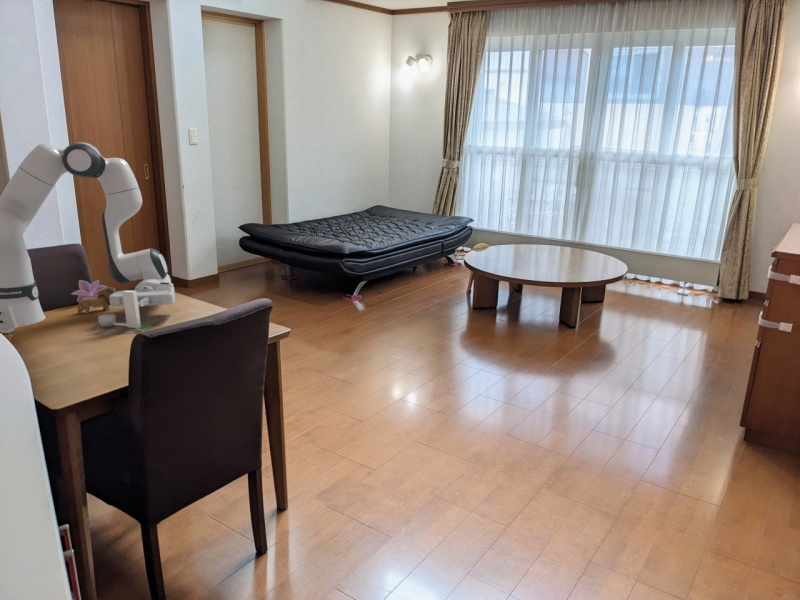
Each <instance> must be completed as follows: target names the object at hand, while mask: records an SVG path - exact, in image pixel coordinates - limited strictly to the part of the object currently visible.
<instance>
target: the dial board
mask: <svg viewBox="0 0 800 600" xmlns="http://www.w3.org/2000/svg"><path fill="white" fill-rule="evenodd" d="M171 317H172V314H151V315H150V314H149V315H147V314H146V315H140V322H141V327H140V328H129V327H127V326H117V325H114V326H111V327H100V326H99V325H97V326H96V327H95V328H94V329H93V330H92V331H91V332H89V333H88V334H87V335H86V336H110V335H111V336H113V335H137V334H138V333H140V332H143V331H147V330H151V329H156V328H159V327H161V328H163V326H164V324H165V323H166V322H168V320H169V319H170V318H171ZM115 318H116V323H127V322H126V315H122V316H121V315H120V316H119V315H118V316H116V315H115Z"/></svg>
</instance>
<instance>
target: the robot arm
mask: <svg viewBox="0 0 800 600" xmlns="http://www.w3.org/2000/svg"><path fill="white" fill-rule="evenodd" d="M65 173H69V174H71V175H73V176H74V177H79V178H87V179H88V178H89V179H93V178H94V179H97V180H98V181H99V183H100V185H101V188H102V190H103V193H104V195H105V196H104V197H105V199H106V201H105V202H106V207H105V210H103V211H102V214H101V225H102V229H103V230H102V232H103V237H104V243H105V248H106V254H107V264H108V265H107V267H108V272H109V275H110V278H111V279H112V280H113V281H115V282H117V283H119V284H122V285H125V284H129V283H132V282H135V281H137V280H141V281H140V282H139V283H137V285H136V286H135V288H134V289H126V290H127V291H136V292H137V299H138V307H139V308H141V307H153V306H157V305H158V306H159V305H173V304H175V302H176V293H175V292H176V291H175V287H174V286H175V285H174V283H172V279H171V277H170V275H169V274H168V273H169V267H168V262H167V261H166V258H165V256H164V255H163V254H162V252H160V251H159V250H157V249H155V248H153V247H152V248H146V249H142V250H139V251H134V252H130V253H129V252H128V253H123V251H122V244H121V238H120V233H119V232H120V231H119V230H120V228H121V226H122V225H123V224H124V222H126V221H127V220H129V219H131V218H132V217H133V216H135V215H136V214H137V213H138V212H139V211H140V210H141V208H142V206H143V197H142V192H141V190H140V187H139V184H138V181H137V179H136V176H135V175H134V172H133V170H132V168H131V166H130V164H129V163H128V162H127V161H126V160H125V159H124V158H120V157H107V158H106V157H104V156H103V155H102V153H101V151H100V150H99V148H97V147H96V146H94V145H93V144H91V143H88V142H85V141H79V142H74V143H71V144H69V145H67V147H65V148H63V149H61V148H58V147H56V146H55V145H52V144H49V143H40V144H38V145H36V146H35V147H34V148H33V149H32V150H31V151H30V152H29V153H28V154H27V155H26V157H25V158H24V159H23V160H22V162H21V164H19V166H18V168H17V169H16V170H15V172H14V174H13V175H12V177H11V178H10V179H9V181H8V183H7V184H6V186H5V187H4V189H3V191H2V192H1V195H0V332H1V333H0V334H13V333H15V331H16V329H17V328H19V327H21V328H22V327H25V326H29V325H33V324H36V323H39V322H42V321H44V320H45V319H46V315H45V314H44V311H43V308H42V306H41V303H40V300H39V291H38V285H37V282H36V280H35V278H34V272H33V268H32V267H33V266H32V261H31V258H30V256H29V253H28V249H27V247H26V243H25V238H24V233H25V232H26V231H27V229H28V227H29V226H30V224H31V222H33V220H34V218H35V216H36V215H37V213H38V211H39V210H40V208H41V207H42V205H43V204H44V202H45V201H46V199H47V198H48V196H49V194H51V192H52V190H53V189H54V187H55V185H56V184H57V183H58V181H59V180H60V178H61V177H62V176H63V175H64V174H65ZM123 291H125V290H118V291H117V290H116V292H115V293H113V294H112V295H110V297H109V299H110V304H111V305H110V306H111V307H124V301H123V294H122V292H123Z"/></svg>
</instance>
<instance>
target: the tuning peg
mask: <svg viewBox="0 0 800 600" xmlns="http://www.w3.org/2000/svg"><path fill="white" fill-rule="evenodd" d="M127 290H128V289H126V290H125V291H123V292H122V294H123V301H124V306H123V307H124V314H125V315H124V316H126V322H127V323H116V318H115V316H116V314H114V313H103V314H101V315H98V316H97V319H98V324H99V325H98V326H100V327H111V326H114V325H117V326H127V327H129V328H140V327H141V322H140V316H141V315H140V307H138V299H137V292H136V291H127Z"/></svg>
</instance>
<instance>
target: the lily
mask: <svg viewBox="0 0 800 600" xmlns="http://www.w3.org/2000/svg"><path fill="white" fill-rule="evenodd" d="M78 288H79V289H77V290H75V291H73V292H71V293H70V295H74V296H77V299H76V302H77V303H79V302H80V301H81V300H82V299H84V298H97V297H98V293H99V292H101V291H103V290H106V289H108V288H109V286H107V285H103V284H100V279H97V280H95V281H92V282H91V283H90V282H89V281H86V280H83V279H80V280H78Z"/></svg>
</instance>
